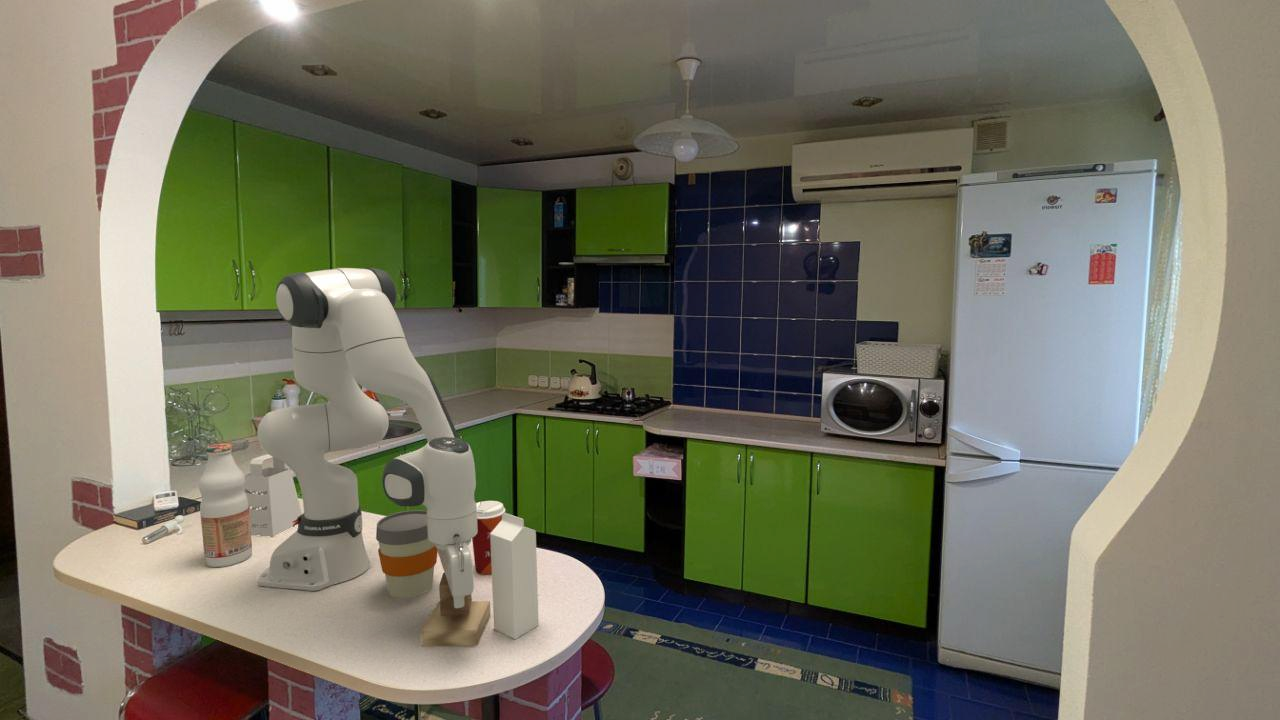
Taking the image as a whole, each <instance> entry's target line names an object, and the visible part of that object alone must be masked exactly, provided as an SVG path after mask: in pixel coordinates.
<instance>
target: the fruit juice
mask: <svg viewBox="0 0 1280 720" xmlns="http://www.w3.org/2000/svg"><path fill="white" fill-rule="evenodd" d="M205 452H206V455H208V458H207V460H206V464H205V467H204V470H203V474H202V475H201V476H200V478H199V479H198V490H199V492H200V495H201V502H200V506H199V507H200V508H199V514H200V524H201V533H202V544H203V552H204V553H203V555H204V561H205V564H206V565H207V566H208V567H211V568H221V567H223V568H224V567H229V566H233V565H236V564H240V563H242V562H244V561H246V560H247V559H250V557H251V556H252V553H253V543H252V535H251V530H250V526H251V524H250V518H249V505H248V499H247V495H246V494H245V492H244V486H245V481H246V480H245V475H246V474H244V472H243V471H242V469H240V468H239V466H238V465H237V463H236V461H235V459H234V456H233V455H232V452H233V445H232V443H227V442H226V443H223V442H222V443H215V444H211V445H208V446H207V447H206V451H205Z"/></svg>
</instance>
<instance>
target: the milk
mask: <svg viewBox="0 0 1280 720" xmlns="http://www.w3.org/2000/svg"><path fill="white" fill-rule="evenodd" d="M536 532H537V531H536V530H535V529H532V528H530V527H526V526H525V521H524V519H523V518H521V517H519V516H515V515H513V514H510V513H507V512H505V513H504V512H503V513H502V521H501V522H500V523H499V524H498V525H497V526H496V527H495V529H494V530H493V531H492V532H491V533H490V540H491V566H492V574H491V586H492V587H491V590H492V592H491V593H492V610H493V611H492V612H493V616H492V617H493V629H494V630H495V631H497V632H500V633H501V634H503V635H505V636H507V637H509V638H511V639H513V640H517V639H519V638H520V637H521V636H523V635H525V634H526V633H528V632H530V631H532V629H534V628H536V627H537V626H539V595H538V594H539V593H538V564H537V561H538V560H537V533H536Z"/></svg>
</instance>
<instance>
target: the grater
mask: <svg viewBox="0 0 1280 720" xmlns="http://www.w3.org/2000/svg"><path fill="white" fill-rule="evenodd" d="M270 458H271V459H272V463H273V465H272V466H273V467H271V466H269V467H265V468H263V466H262V465H263V463H264V461H265V460H267V459H270ZM249 468H250V470H249V472H250V473H247V474H244V475H245V480H246V481H245V486H244V492H245V494H246V495H247V499H248V505H249V518H250V530H251V536H253V535H260V536H259V537H263V536H270V537H269V538H275V537H276V536H275V535H277V534H279V533H281V532H283V531H285V530H287V529H289V528H291V527H293V524H294V523H295V522H294V523H292V522H293V521H295V520H296V519H297V517H299V516H300V515H302V514H303V512H302V508H301V505H300V501H299V497H298V494H297V493H298V492H297V490H296V485H295V481H294V478H293V473H292V470H291V469H290V468H286V464H285V463H283V462H282V461H280V460H279V459H277V458H275V457H272V456H270V455H269V454H267V453H266V454H263V455H260V456H257V457H255V458H252V459H251V461H250V462H249ZM258 525H259V526H265V525H266V526H265V527H259V526H258ZM256 526H257V527H256ZM293 528H294V527H293ZM291 529H292V528H291ZM289 530H290V529H289ZM287 531H288V530H287ZM285 532H286V531H285ZM283 533H284V532H283ZM281 534H282V533H281ZM279 535H280V534H279ZM274 536H275V537H274ZM277 536H278V535H277Z"/></svg>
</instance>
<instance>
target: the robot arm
mask: <svg viewBox="0 0 1280 720" xmlns="http://www.w3.org/2000/svg"><path fill="white" fill-rule="evenodd" d="M397 294H398V292H397V288H396V283H395V281H394V280H393V278H392V277H391V276H390V274H389V273H388V272H387V271H385V270H383V269H378V268H375V267H364V268H355V267H336V268H332V269H323V270H316V271H315V270H314V271H309V272H304V271H300V272H299V271H298V272H294V273H291V274H288V275H286V276H283V277H282V278H281V279H280V280H279V282H278V284H277V286H276V289H275V302H276V306H277V309H278V313H279V315H280V316H281V318H282V319H283V321H285V322H286V323H288V324H289V325H290V326H292V328H291V329H292V331H291V335H292V336H291V340H292V341H291V343H292V344H291V345H292V358H293V359H292V361H293V376H294V380H295V381H296V383H297V384H298V385H299V386H300V387H302V388H303V389H305V390H307V391H309V392H312V393H315V394H318V395H321V396H323V397H325V398H327V399H328V401H327V402H324V403H314V404H312V403H311V404H304V405H303V404H302V405H301V404H300V405H295V406H294V405H291V406H287V407H284V408H283V407H282V408H280V409H276V410H272V411H269V412H267V413H266V414H265V415H264V416H263V417H262V418H261V420H260V422H259V424H258V426H257V432H256V433H257V434H256V435H257V441H258V443H259V446H260V447H261V449H262V450H263V451H264V452H265V453H266V455H267V454H269V455H270V456H272V457H271V458H273V457H275V458H277V459H279V460H280V461H282V462H283V463H285V466H287V467H288V469H291V472H293V474H294V475H295V477H296V478H297V480H298V483H299V486H300V490H301V497H302V505H303V513H302V515H300V516H299V517H297V519H296V520H295V521H293V522H292V523H294V522H295V523H294V524H293V528H295V527H294V526H295V525H297V524H298V526H297V530H296V531H295V532H294V533H292V534H291V535H290V536H289V537H288V538H286V539H285V540H284V541H283V542H281V544H279V545H278V546H277V547H276V548H275V549H274V551H273V552H272V553H271V556H270V560H269V561H270V562H269V566H268V567H267V568H266V569H265V570H264V571H262V573H261V574H260V575H259V577H258V579H257V580H258V581H257V585H258V586H260V587H271V588H280V589H289V590H302V591H311V592H313V591H320V590H323V589H325V588H327V587H330V586H332V585H336V584H339V583H340V584H341V583H343V582H346V581H349V580H352V579H354V578H356V577H358V576H360V575H362V574H363V573H364V572H366V571H367V570H368V569H369V568H370V566H371V561H370V558H369V556H368V554H367V550H366V547H365V543H364V539H363V532H362V531H363V517H362V507H361V505H359V503H360V502H359V488H358V487H359V486H358V477H357V476H356V474H355V472H353V470H352V469H350V468H348V467H346V466H343V465H340V464H336V463H332V462H330V461H328V460H327V459H326V458H325V455H326V454H328V453H332V452H338V451H339V452H341V451H347V450H348V451H349V450H353V449H360V448H365V447H366V446H370V445H373V444H376V443H379V442H382V440H383V439H384V438H385V437H386V434H387V432H388V429H389V427H390V426H389V424H390V422H389V421H390V420H389V416H388V412H387V410H386V409H385V408H384V406H383V405H381V403H380V402H378V401H376V400H374V399H372V398H370V397H369V396H368V395H367V394H366V393H365V392H364V391H363V390H362V389H361V388H364V389H366V390H368V391H370V392H373V393H376V394H380V395H384V396H390V397H393V398H396V399H399V400H401V401H403V402H404V403H406V404H407V405H409V407H410V408H411V409H412V410H413V412H414V414H415V416H416V419H417V421H418V423H419V425H420V427H421V430H422V432H423V434H424V436H425V438H426V441H427V443H426V444H425V445H423V446H422V447H421V448H418V449H417V450H413V451H410V452H407V453H404V454H401V455H397V456H396V457H394V458H393V459H390V460H389V461H388V462H387V463H386V465H385V466H384V469H383V471H382V477H381V478H382V479H381V483H382V487H383V492H384V494H385V496H386V497H387V499H388V500H389V501H390V502H391V503H393V504H395V505H397V506H399V507H404V508H405V507H419V506H424V507H425V509H426V511H427V533H428V540H429V541H431V542H432V543H435V546H436V548H437V555H438V557H439V560H440V563H441V567H442V569H443V573H444V572H445V575H446V578H447V582H448V585H449V588H450V591H451V594H452V596H453V604H454V607H455V608H461V607H463V606H464V597H465V596H466V595H470V594H471V595H472V594H473V593H474V590H475V589H474V571H473V562H472V561H473V560H472V554H471V551H470V547H469V545H470V544H471V542H472V538H473V537H474V536H475V535H476V534H477V532H478V527H477V506H476V503H477V502H476V500H475V491H476V486H477V481H476V479H477V478H476V466H475V465H476V464H475V460H474V453H473V451H472V449H471V446H470V444H469V443H468V442H467V441H465V440H464V439H461V437H460V435H459V433H458V431H457V430H456V428H455V425H454V423H453V420H452V418H451V416H450V413H449V412H448V409H447V407H446V405H445V402H444V401H443V398H442V396H441V394H440V392H439V390H438V388H437V386H436V383H435V382H434V380H433V378H432V376H431V375H430V373H429V372H428V371H427V370H426V369H425V368H423V367H422V366H421V365H420V363H418V361H417V360H416V358H415V357H414V355H413V353H412V352H411V351H412V350H411V349H410V348H409V345H408V341H407V339H406V336H405V333H404V330H403V329H404V328H402V324H401V322H400V319H399V318H398V315H397V312H396V310H395V309H394V308H395V306H396V305H397V298H398V295H397ZM360 386H361V388H360Z"/></svg>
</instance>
